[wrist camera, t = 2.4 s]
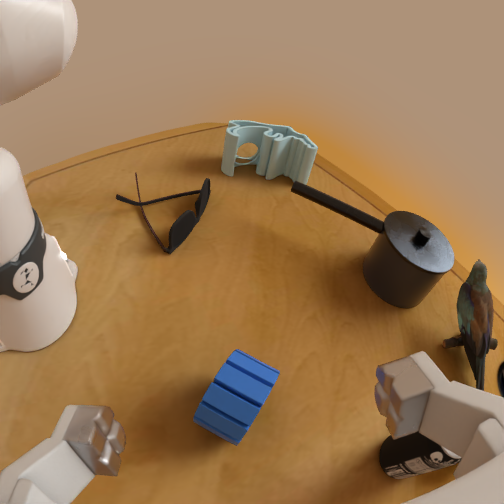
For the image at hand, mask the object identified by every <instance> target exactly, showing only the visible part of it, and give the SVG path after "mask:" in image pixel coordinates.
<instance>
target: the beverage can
mask: <svg viewBox="0 0 504 504" xmlns="http://www.w3.org/2000/svg"><path fill="white" fill-rule="evenodd" d="M379 458H380V464H381V467H382V469H383V470H384V472H385V473H386V474H387V475H388V476H390V477H392V478H395V479H403V478H408V477H412V476H416V475H420V474H424V473H427V472H431V471H435V470H438V469H442V468H445V467H448V466H451V465H454V464H457V463H458V462H460V461H461V459H462V457H460V456H458V455H456V454H455V453H453V452H451V451H449V450H448V449H446V448H444V447H443V446H441V445H439V444H438V443H436V442H434V441H432V440H431V439H429V438H427V437H426V436H424V435H422V434H421V433H419V431H417V432H415V433H412V434H409V435H406V436H403V437H400V438H397V439H394V440H393V438H392V436H391V435H390V436H389V437H388V438H387V439H386V440H385V441H384V443H383V445H382V447H381V450H380V456H379Z"/></svg>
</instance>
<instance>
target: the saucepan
mask: <svg viewBox="0 0 504 504" xmlns="http://www.w3.org/2000/svg"><path fill="white" fill-rule="evenodd" d="M291 192H293V193H295V194H298V195H300V196H302V197H304V198H306V199H309V200H311V201H313V202H315V203H317V204H319V205H322V206H324V207H326V208H328V209H330V210H332V211H334V212H336V213H338V214H341V215H343V216H345V217H347V218H349V219H351V220H353V221H355V222H357V223H359V224H361V225H363V226H365V227H367V228H369V229H371V230H373V231H375V232H377V233H379V235H378V237H377V238H376V240H375V242H374V244H373V245H372V247H371V249H370V251H369V252H368V254H367V256H366V257H365V259H364V262H363V273H364V277H365V279H366V281H367V283H368V285H369V286H370V288H371V289H372V290H373V291H374V292H375V293H376V294H377V295H378V296H379V297H380V298H381V299H383V300H384V301H386V302H387V303H389V304H391V305H394V306H397V307H401V308H411V307H414V306H416V305H418V304H419V303H420V302H421V301H422V300H423V299H424V298H425V297H426V295H427V294H428V293H429V292H430V291H431V289H432V288H433V287H434V286H435V285H436V283H437V282H438V281H439V280H440V279H441V277H442V276H443V275H444V274H445V273H447V272H448V271H449V270H450V269H451V268H452V266H453V264H454V253H453V250H452V247H451V245H450V243H449V241H448V240H447V238H446V237H445V236H444V235H443V233H442V232H441V231H440V230H439V229H438V228H437V227H436V226H434V225H433V224H432V223H430V222H429V221H427V220H426V219H424V218H422V217H421V216H419V215H416V214H414V213H410V212H406V211H395V212H392V213H390V214H389V215H387V217H386V218H385V220H384V222H383V221H381V220H379V219H377V218H375V217H373V216H371V215H369V214H367V213H365V212H363V211H361V210H359V209H357V208H354V207H352V206H350V205H348V204H346V203H344V202H342V201H340V200H338V199H336V198H333V197H331V196H329V195H327V194H325V193H323V192H321V191H318V190H316V189H314V188H312V187H309V186H307V185H305V184H303V183H301V182H298V181H295V182H294V184H293V186H292V189H291Z"/></svg>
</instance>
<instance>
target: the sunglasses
mask: <svg viewBox="0 0 504 504" xmlns="http://www.w3.org/2000/svg"><path fill="white" fill-rule="evenodd" d="M135 176H136V183H137V190H138V196H139V202H135V201H132V200H130V199H127V198H125V197H123V196H120V195H118V194H117V195H116V199H117V200H120V201H123V202H126V203H129V204H132V205H137V206H140V207H141V210H142V213H143V216H144V218H145V220H146V222H147V224H148V226H149V228H150V230H151V232H152V233H153V235H154V237H155V238H156V240H157V241H158V243H159V244H160V246H161V247H162V249H163V250H164V252H165V251H166V252H167V253H169V254H171V253H172V252H173V251H174V250H175V249H176V248H177V247H178V246H179V245H180V244H181V243H182V242H183V241H184V240H185V239H186V238H187V236H188V235H189V234H190V232H191V231H192V230H193V228H194V226H195V225H196V224H197V223H198V222H199V220H200V217H201V215H202V214H203V212H204V210H205V207H206V205H207V202H208V199H209V195H210V191H211V190H210V179H208V178H206V179H205V181H204V184H203V186H202V189H201V190H196V191H190V192H185V193H180V194H175V195H171V196H167V197H163V198H159V199H155V200H151V201H147V202H141V201H140V195H139V188H138V181H137V174H136V173H135ZM198 193H200V196H199V198H198V200H197V201H196V202H195V209H196V214H197V217H196V216H195V214H194V212H193V211H191V210H187V211H186V212H184V213H183V214H182V215H181V216H180V217H179V218H178V219H177V220H176V221H175V222H174V223H173V225H172V226H171V229H170V232H169V247H168V248H165V247H164V246H163V244H162V243H161V241H160V240H159V238H158V237H157V235H156V234H155V232H154V231H153V229H152V227H151V225H150V224H149V222H148V220H147V218H146V216H145V214H144V211H143V208H142V206H143V205H148V204H152V203H156V202H160V201H164V200H168V199H172V198H177V197H182V196H187V195H193V194H198Z"/></svg>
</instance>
